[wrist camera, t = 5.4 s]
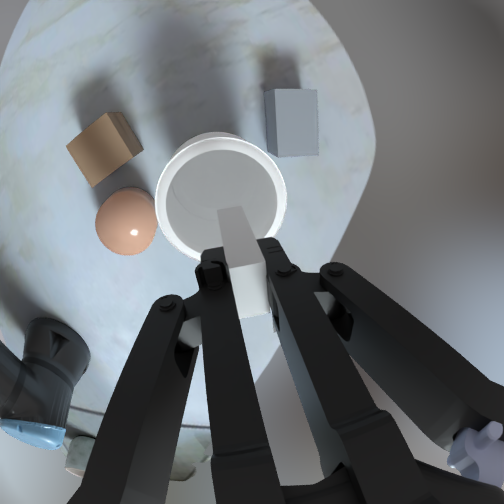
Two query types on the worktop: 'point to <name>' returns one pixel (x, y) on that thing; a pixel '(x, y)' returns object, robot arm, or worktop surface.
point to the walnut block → (104, 147)
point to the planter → (79, 455)
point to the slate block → (292, 122)
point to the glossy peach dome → (127, 221)
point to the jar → (217, 191)
